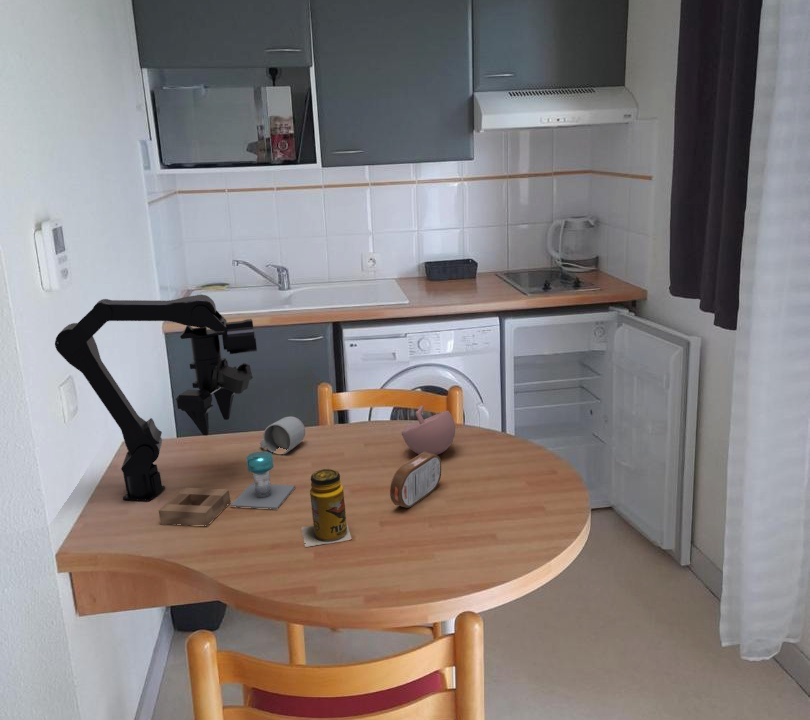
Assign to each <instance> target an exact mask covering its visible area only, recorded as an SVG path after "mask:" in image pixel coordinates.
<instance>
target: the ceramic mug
mask: <svg viewBox="0 0 810 720" xmlns="http://www.w3.org/2000/svg"><path fill="white" fill-rule="evenodd" d="M305 436H306V426H305V425H304V423H303V421H301V420H300V419H299V418H298V417H296V416H285V417H282V418H280V419H279V420H277V421H275V422H272V423H271V424H269V425H268V426H266V428H265V429H264V431H263V437H262V438H263V440H261V441H260V442H259V444H260V447H261V449H267V450H268V452H270V453H272V452H274V451H276V449H278V448H279V447H280V448H283V449H286V450H287V449H288V450H287V451H286V452H284V453H283V455H286V454H288V453H289V452H290V451H291V450H293V449H294V448H295V447H297V446H298V445H299V444H300V443H302V442H303V440H304V439H305Z"/></svg>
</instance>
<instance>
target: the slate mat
mask: <svg viewBox="0 0 810 720" xmlns="http://www.w3.org/2000/svg"><path fill="white" fill-rule="evenodd" d="M270 485H271V495H270V496H269V497H266V498H257V497H256V493H255V485H254V483H250V484H249V485H248V486H247V487H246V489H244V490H243V492H241V493H240V494H239V496H238V497H237V498H236V499H235V500H234V501H233V502H231V503H230V507H231V506H236V507H251V508H268V509H270V508H271V509H277V508H278V507H279V506H280V505H281V504H282V502H283V501H284V500H285V499H286V498H287V497H288V496H289V497H290V495H291V494H292V493H293V492H294V490H295V489H296V485H293V484H271V483H270ZM294 488H295V489H294ZM292 491H293V492H292ZM291 492H292V493H291ZM290 493H291V494H290ZM289 494H290V495H289ZM289 497H288V498H289ZM288 498H287V499H288ZM287 499H286V500H287ZM286 500H285V501H286ZM285 501H284V502H285ZM282 505H283V504H282ZM282 505H281V506H282ZM281 506H280V507H281ZM280 507H279V508H280Z"/></svg>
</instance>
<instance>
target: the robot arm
mask: <svg viewBox="0 0 810 720" xmlns="http://www.w3.org/2000/svg"><path fill="white" fill-rule="evenodd" d="M107 322H171V323H176V324H178V325H179V324H180V325H183V326H186V327H185V328H184V330H183V331H181V333H180V336H179V337H180V339H181V340H185V339H186V340H187V339H190V345H191V352H192V354H191V355H192V360H193V361H192V362H191V363H190V364H189V369H190V370H194V375H195V381H194V382H192V383H191V385H192V388H193V389H187V390H185V391H183V392H182V393H180V394H179V395H178V396H177V397H176V398H175V404H176V409H178V410H181V411H182V412H185V413H186V415H187V416H188V417H189V418H190V419H191V420H192V422H193V423H194V424H195V427H196V428H197V429H198V430H199V431H200V433H201V434H202V436H208V435H209V430H210V429H209V426H210V425H209V412H210V410H211V409H212V408H213V407H214V404H212V403H213V397H212V396H214V398H215V400H216V404H217V406H218V409H219V411H220V413H221V416H222V418H223V420H225V421H229V420H230V417H231V412H232V411H231V410H232V405H233V400H234V398H235V397H234V396H235V394H237V395H239V394H242V393H243V392H244V391H246V390H248V388H249V385H250V381H251V380H253V378H254V377H253V375H252V373H253V372H252V369H251V365H250V364H248V363H245V362H243V363H241V364H240V365H239V366H238V367H237V366H233V367H232V366H229V363H228V360H227V358H226V357H223V356H222V350H221V349H222V348H221V341H220V336H221V338H222V345H223V351H226V353H227V352H229V355H238V354H245V353H254V352H255V353H256V352H257V351H258V346H257V339H256V332H255V331H254V322H253V319H252V318H249V319H243V320H239V321H229V322H228V321H227V319H226V318H225V317H224V316H223V314H221V313H220V312H219V311H218V310H217V306H216V303H215V302H214V300H213V299H212V298H211V297H210V296H208V295H205V294H195V295H190V296H184V297H181V298H175V299H171V300H141V299H140V300H139V299H138V300H137V299H135V300H134V299H132V300H130V299H129V300H125V299H121V300H120V299H115V300H114V299H108V298H103V299H100V300H98V301H97V302H96V304H95V305H94V306H93V307H92V309H91V310H90V311H89V312H87V314H85V316H83V317H82V318H81V319H80V320H79V321H78V322H72V323H69V324H67V325H66V326H65V327H64V328H63V329H62V330H61V331H60V332H59V333H58V334H57V336H56V337H55V341H54V347H55V349H56V352H57V353H59V355H60V356H61V357H62V358H63V359H64V360H65V361H66V362H67V363H68V364H69V365H71V367H74V368H75V369H76V370H78V371H79V372H80V373H82V375H83V376H84V378H85V379H86V380H87V382H88V384H89V385H90V386H91V388H92V389H93V391H94V393H95V394H96V395H97V396H98V399H99V400H100V401H101V402H102V404H103V405H104V406H105V408H106V410H107V411H108V413H109V414H110V415H111V417H112V419H113V420H114V421H115V422H116V424H117V426H118V427H119V429H120V431H121V434H122V437H123V440H124V444H125V446H126V450H127V452H126V454H125V457H124V460H123V463H122V465H121V471H122V474H123V480H124V485H125V490H126V494H125V495H124V496H123V497H122V499H123V501H124V500H125V501H142V502H150V501H151V500H153V499H154V498H155V497H157V496H158V495H159V494H160V493H161V492H163V491H164V490H165V489H166V485H163V484H162V479H161V478H162V477H161V472H159V469H158V465H157V464H154V462H156V461H157V459H158V458H159V456H160V452H161V448H162V443H163V440H162V434H163V432H162V431H161V430H160V429H158V427H157V426H156V424H155V421H154V419H153V418H151V417H150V418H149V419H148V420H145V419H144V418H142V417H140V416H139V414H138V413H137V412H136V410H135V409H134V407H133V405H132V404H131V403H130V401H129V400H128V398H127V397H126V395H125V393H124V392H123V391H122V388H120V385H118V383H117V381H116V380H115V379H114V376H113V375H112V374H111V373H110V371H109V370H108V368H107V367H106V366H105V363H103V361H102V359H101V355H100V351H99V348H98V345H97V343H96V340H95V337H94V335H95V334H96V333H97V332H98V331H99V330H101V328H102V327H103V326H105V324H106V323H107Z"/></svg>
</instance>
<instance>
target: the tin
mask: <svg viewBox="0 0 810 720" xmlns="http://www.w3.org/2000/svg"><path fill="white" fill-rule="evenodd" d="M441 477H442V459H441V458H440V456H439V455H435V454H431V453H429V452H423V453H421V454H417V455H416V456H414V457H413V458H411V459H409V460H408V461H407V462H405V463H403V464H401V465H400V466H399V467H398V468H397V469H396V471H395V473H394V475H393V477H392V479H391V483H390V488H389V497H390V500H391V503H392V504H393V505H395V506H400V507H402V508H406V509H407V508H411V507H413V506H414V505H416V504H418V503H419V502H420V501H422V500H423V499H424V498H426V497H428V496H429V495H430V494H432V493H433V492H434V491H435V490H436V489H437V487H438V485H439V483H440V480H441Z"/></svg>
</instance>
